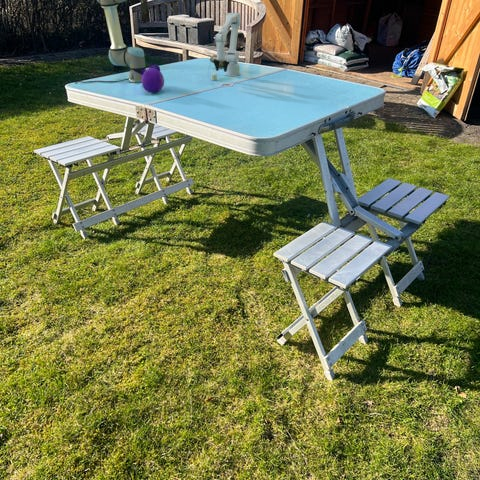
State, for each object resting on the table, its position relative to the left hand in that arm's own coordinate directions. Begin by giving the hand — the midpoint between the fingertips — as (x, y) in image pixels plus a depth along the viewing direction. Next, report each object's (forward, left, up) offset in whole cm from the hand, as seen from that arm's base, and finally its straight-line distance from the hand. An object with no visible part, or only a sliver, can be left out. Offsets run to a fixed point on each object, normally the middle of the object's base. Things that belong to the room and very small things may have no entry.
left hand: (146, 22), depth 360 cm
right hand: (+44, -62, -30) cm, 82 cm away
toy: (-11, -82, -36) cm, 91 cm away
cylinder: (+39, -61, -36) cm, 81 cm away
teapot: (+58, -12, -36) cm, 69 cm away
